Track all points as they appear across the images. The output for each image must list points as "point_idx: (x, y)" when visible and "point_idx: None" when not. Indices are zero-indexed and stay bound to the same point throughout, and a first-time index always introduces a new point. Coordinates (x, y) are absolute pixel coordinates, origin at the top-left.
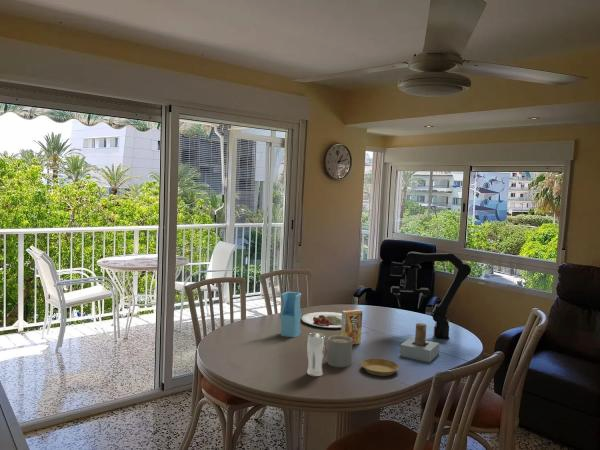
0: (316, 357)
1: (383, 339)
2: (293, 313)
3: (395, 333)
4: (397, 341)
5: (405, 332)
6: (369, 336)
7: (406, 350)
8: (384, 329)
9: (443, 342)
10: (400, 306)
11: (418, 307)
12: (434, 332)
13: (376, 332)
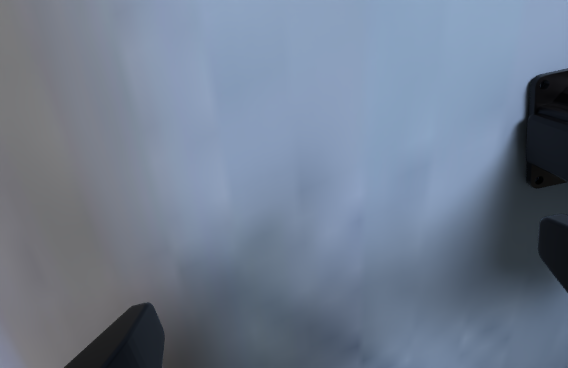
0: None
1: None
2: None
3: (189, 187)
4: (239, 360)
5: (270, 117)
6: (24, 342)
7: None
8: (57, 101)
9: None
10: (160, 356)
11: (553, 273)
12: (544, 165)
13: (28, 228)
